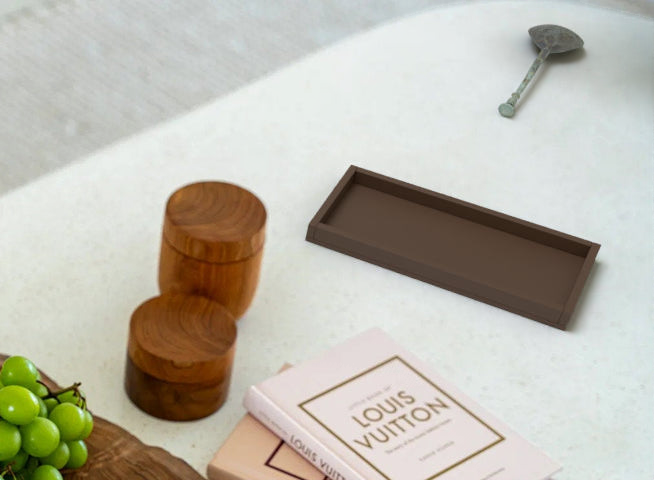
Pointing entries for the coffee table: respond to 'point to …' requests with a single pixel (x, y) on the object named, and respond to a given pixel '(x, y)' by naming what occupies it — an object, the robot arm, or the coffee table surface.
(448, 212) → the cutlery tray
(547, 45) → the soupspoon
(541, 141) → the coffee table surface
